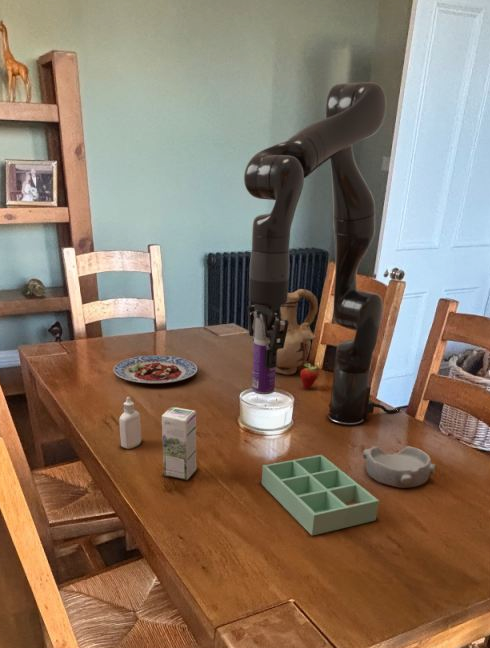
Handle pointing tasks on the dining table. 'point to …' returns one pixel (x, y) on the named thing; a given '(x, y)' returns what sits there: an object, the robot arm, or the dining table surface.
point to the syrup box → (179, 442)
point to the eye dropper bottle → (130, 426)
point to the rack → (319, 494)
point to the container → (261, 364)
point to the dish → (399, 466)
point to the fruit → (308, 376)
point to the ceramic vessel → (296, 333)
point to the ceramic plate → (155, 369)
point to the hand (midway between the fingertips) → (264, 363)
